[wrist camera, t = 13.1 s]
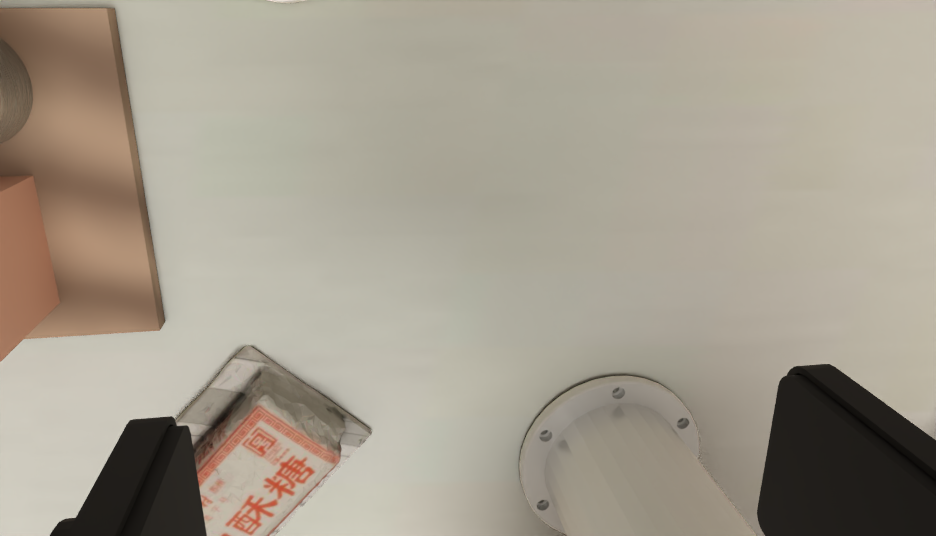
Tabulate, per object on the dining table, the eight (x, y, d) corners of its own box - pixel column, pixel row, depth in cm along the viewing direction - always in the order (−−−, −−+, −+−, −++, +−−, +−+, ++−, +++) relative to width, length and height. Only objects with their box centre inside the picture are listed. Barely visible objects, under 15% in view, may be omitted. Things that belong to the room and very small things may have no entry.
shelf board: (165, 321, 41) (148, 349, 37) (-65, 335, 39) (-105, 366, 35) (114, 8, 35) (89, 7, 31) (-159, 8, 33) (-216, 7, 30)
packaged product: (233, 374, 38) (375, 468, 41) (245, 335, 42) (372, 423, 46) (36, 593, 40) (185, 664, 44) (68, 535, 45) (200, 603, 48)
